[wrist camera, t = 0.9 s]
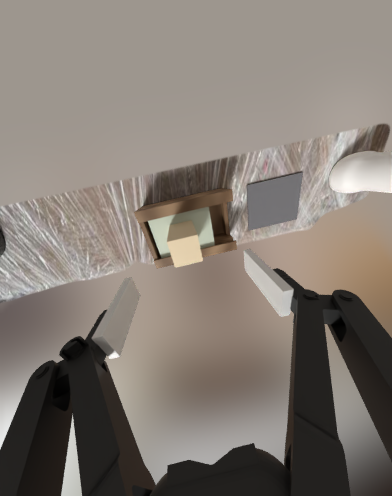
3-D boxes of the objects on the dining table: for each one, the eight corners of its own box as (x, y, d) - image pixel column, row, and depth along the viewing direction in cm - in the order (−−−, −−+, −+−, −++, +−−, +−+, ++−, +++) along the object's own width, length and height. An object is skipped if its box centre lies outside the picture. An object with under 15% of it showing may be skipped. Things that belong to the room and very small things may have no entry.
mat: (248, 230, 36) (249, 230, 36) (246, 185, 31) (247, 185, 31) (295, 218, 37) (296, 219, 36) (301, 172, 32) (302, 172, 31)
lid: (162, 258, 31) (157, 286, 23) (146, 214, 27) (132, 230, 18) (214, 245, 31) (227, 269, 23) (206, 200, 27) (220, 209, 19)
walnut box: (160, 253, 36) (156, 268, 30) (142, 206, 31) (134, 212, 24) (226, 237, 37) (236, 249, 30) (221, 187, 31) (232, 189, 25)
